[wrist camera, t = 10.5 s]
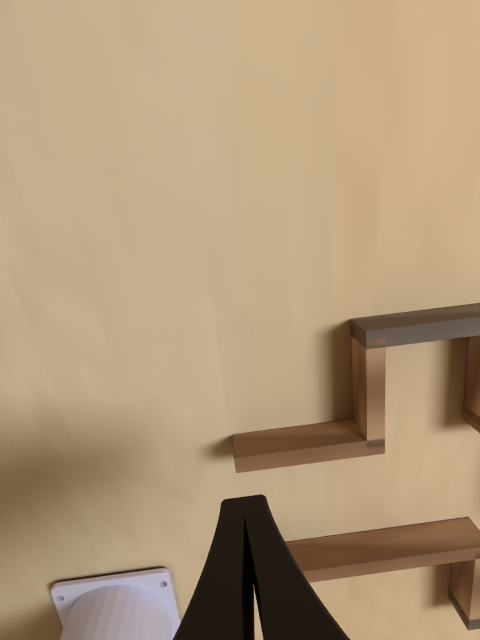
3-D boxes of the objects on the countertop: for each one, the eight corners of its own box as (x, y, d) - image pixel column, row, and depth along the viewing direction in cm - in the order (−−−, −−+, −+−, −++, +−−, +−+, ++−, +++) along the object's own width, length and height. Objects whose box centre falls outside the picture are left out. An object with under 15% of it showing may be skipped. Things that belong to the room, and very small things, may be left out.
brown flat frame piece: (596, 576, 27) (628, 607, 25) (258, 624, 26) (261, 659, 24) (666, 280, 20) (717, 287, 18) (219, 335, 20) (219, 349, 18)
